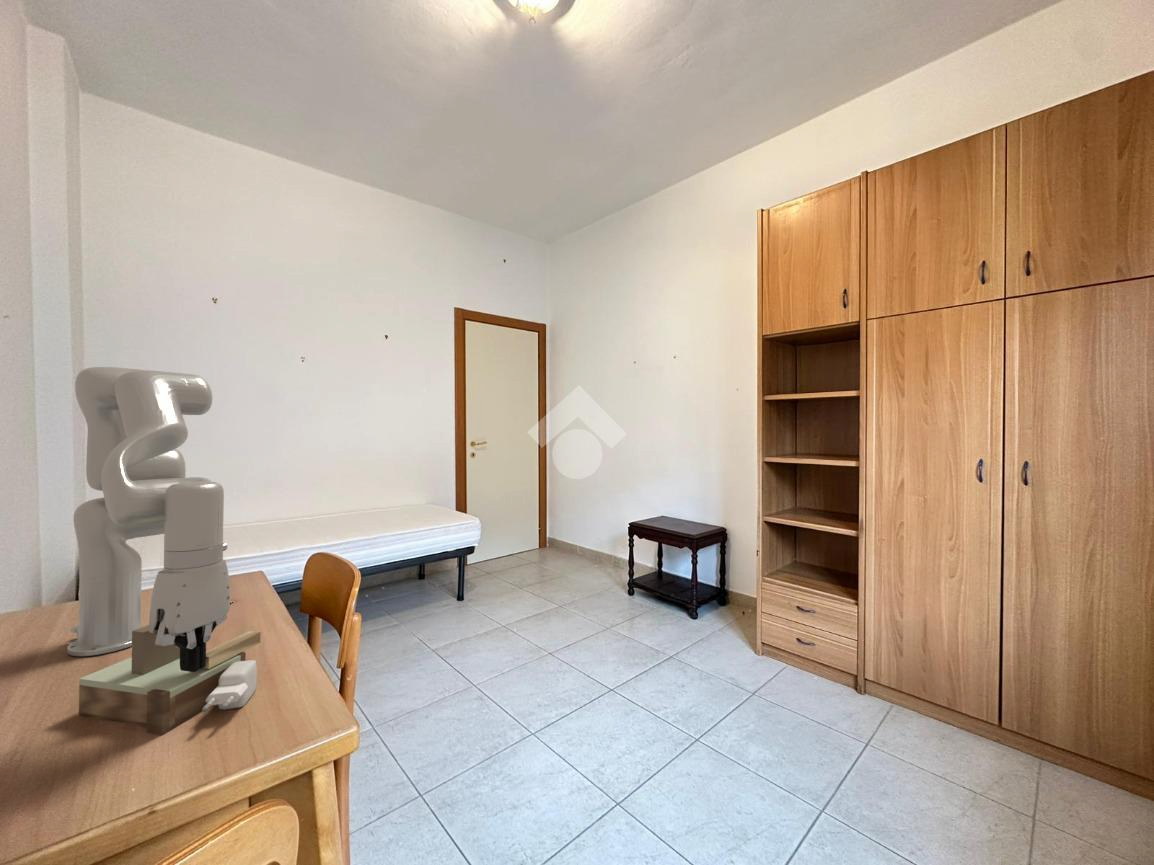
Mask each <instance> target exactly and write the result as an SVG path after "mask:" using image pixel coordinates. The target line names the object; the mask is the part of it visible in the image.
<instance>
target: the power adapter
mask: <svg viewBox="0 0 1154 865" xmlns="http://www.w3.org/2000/svg"><path fill="white" fill-rule="evenodd" d="M257 673H258V665H257V661H256V660H255V659H251V660H249V659H248V660H245V661H239V662H234V663H233V664H231V665H230V666H229V667H228V668H227V669H226V670H225V671H224V672H223V673H222V675H221V676H220V678H219V684H218V686H217V687H216V688H215V690H214V691H213V692H212V693H211V694H210V695H209V696H208V697H207V699H206V700H205V701H206V702H207V704H206V705H205V706H204V707H203V708H202V712H203V713H205V712H207V711H208V710H209V708H211V707H212V706H217V705H218V708H219V710H230V709H238V708H242V707H244V706H245V705H246V704H247V702H248V701H249V700H250V699H251V698H252V696H254V694H255V692H256V690H257V680H258V678H257V677H258V674H257ZM211 705H212V706H211ZM210 706H211V707H210Z"/></svg>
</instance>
